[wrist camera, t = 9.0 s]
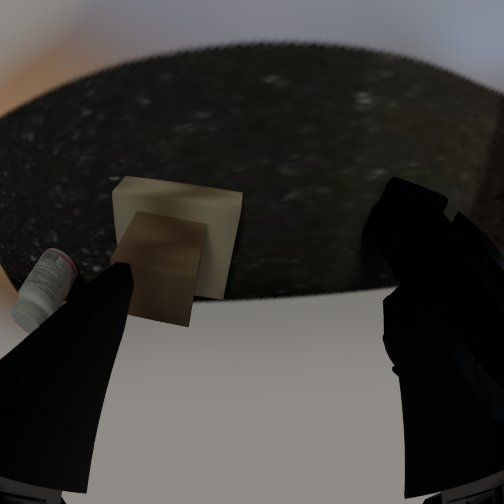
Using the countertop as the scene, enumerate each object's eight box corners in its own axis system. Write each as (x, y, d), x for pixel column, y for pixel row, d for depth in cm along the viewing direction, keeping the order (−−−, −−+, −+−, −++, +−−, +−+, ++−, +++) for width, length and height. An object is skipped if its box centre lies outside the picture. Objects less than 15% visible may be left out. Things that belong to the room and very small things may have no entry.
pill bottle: (69, 285, 27) (40, 344, 20) (40, 260, 24) (5, 316, 18) (85, 268, 25) (51, 333, 19) (52, 239, 23) (11, 301, 16)
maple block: (242, 189, 20) (241, 210, 18) (225, 275, 26) (222, 299, 24) (128, 173, 19) (112, 192, 17) (133, 259, 25) (123, 282, 23)
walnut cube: (206, 224, 19) (196, 277, 15) (197, 274, 22) (188, 327, 18) (136, 210, 18) (110, 259, 14) (137, 263, 21) (118, 312, 17)
